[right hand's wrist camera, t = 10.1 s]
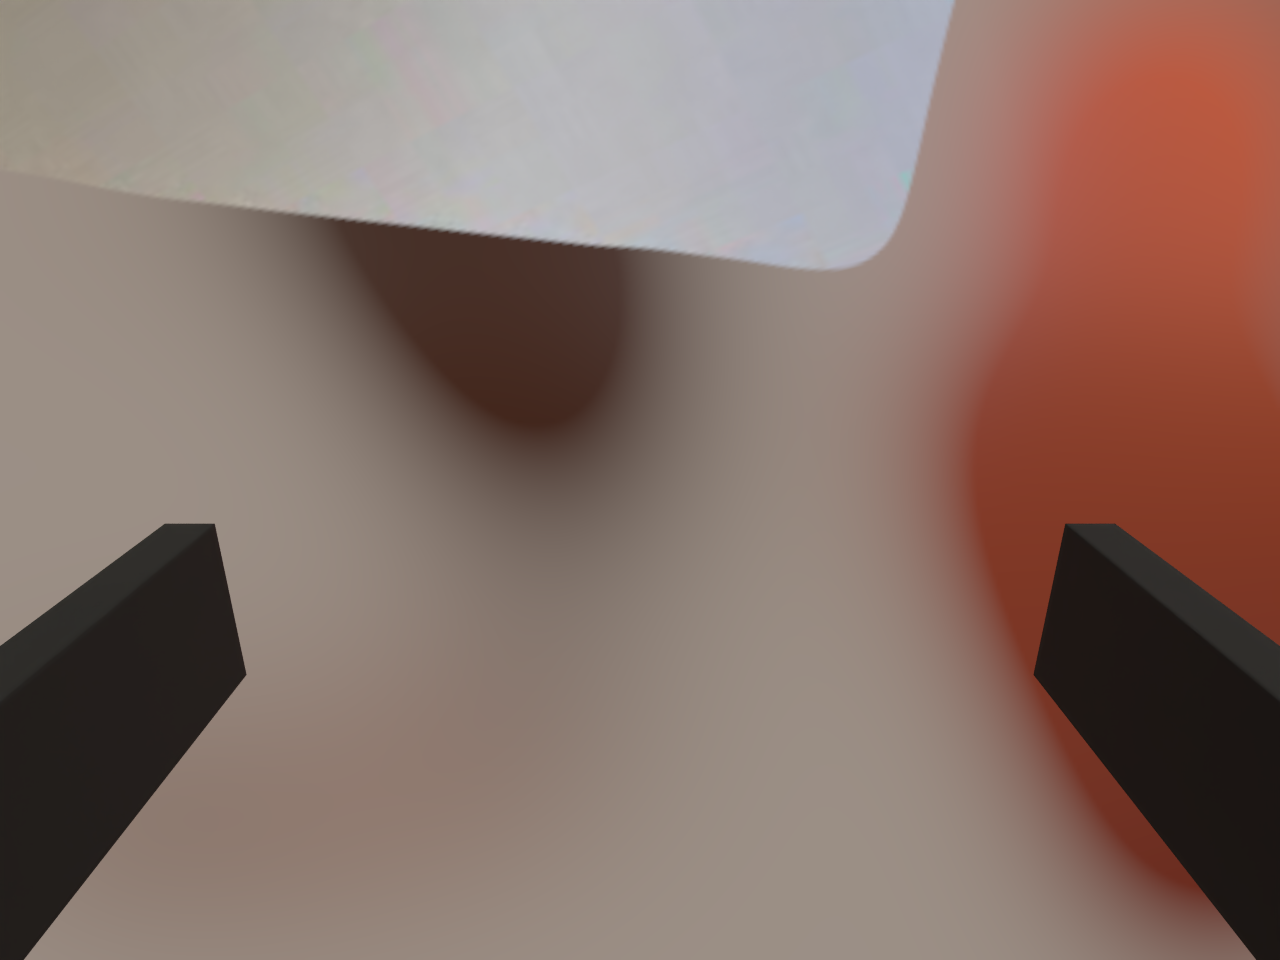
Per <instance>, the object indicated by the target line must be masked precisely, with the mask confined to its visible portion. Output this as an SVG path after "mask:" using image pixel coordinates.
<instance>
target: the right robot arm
mask: <svg viewBox="0 0 1280 960" xmlns="http://www.w3.org/2000/svg"><path fill="white" fill-rule="evenodd" d="M245 676H246V670H245V666H244V661H243V656H242V652H241V647H240V642H239V637H238V633H237V628H236V623H235V618H234V613H233V609H232V604H231V599H230V594H229V590H228V585H227V580H226V576H225V571H224V566H223V561H222V556H221V552H220V547H219V542H218V537H217V533H216V528H215V524H164V525H163V526H161V527H160V528H159V529H157V530H156V531H155V532H153V533H152V534H151V535H149V536H148V537H147V538H145V539H144V540H142V541H141V542H140V543H138V544H137V545H136V546H134V547H133V548H132V549H130V550H129V551H128V552H126V553H125V554H124V555H122V556H121V557H120V558H118V559H117V560H116V561H114V562H113V563H112V564H110V565H109V566H108V567H106V568H105V569H103V570H102V571H101V572H99V573H98V574H97V575H95V576H94V577H93V578H91V579H90V580H89V581H87V582H86V583H85V584H83V585H82V586H81V587H79V588H78V589H76V590H75V591H74V592H72V593H71V594H70V595H68V596H67V597H66V598H64V599H63V600H62V601H60V602H59V603H58V604H56V605H55V606H54V607H52V608H51V609H50V610H48V611H47V612H45V613H44V614H43V615H41V616H40V617H39V618H37V619H36V620H35V621H33V622H32V623H31V624H29V625H28V626H27V627H25V628H24V629H23V630H21V631H20V632H19V633H17V634H16V635H15V636H13V637H12V638H11V639H9V640H8V641H6V642H5V643H4V644H2V645H1V646H0V960H24V959H25V957H26V956H27V955H28V954H29V952H30V951H31V950H32V948H33V947H34V946H35V945H36V943H37V942H38V941H39V939H40V938H41V937H42V936H43V934H44V933H45V932H46V931H47V929H48V928H49V927H50V925H51V924H52V923H53V922H54V920H55V919H56V918H57V916H58V915H59V914H60V913H61V911H62V910H63V909H64V907H65V906H66V905H67V904H68V902H69V901H70V900H71V899H72V897H73V896H74V895H75V893H76V892H77V891H78V890H79V888H80V887H81V886H82V884H83V883H84V882H85V881H86V879H87V878H88V877H89V875H90V874H91V873H92V872H93V870H94V869H95V868H96V867H97V865H98V864H99V863H100V861H101V860H102V859H103V858H104V856H105V855H106V854H107V852H108V851H109V850H110V849H111V847H112V846H113V845H114V844H115V842H116V841H117V840H118V838H119V837H120V836H121V835H122V833H123V832H124V831H125V829H126V828H127V827H128V826H129V824H130V823H131V822H132V820H133V819H134V818H135V817H136V815H137V814H138V813H139V812H140V810H141V809H142V808H143V806H144V805H145V804H146V803H147V801H148V800H149V799H150V797H151V796H152V795H153V794H154V792H155V791H156V790H157V788H158V787H159V786H160V785H161V783H162V782H163V781H164V780H165V778H166V777H167V776H168V774H169V773H170V772H171V771H172V769H173V768H174V767H175V765H176V764H177V763H178V762H179V760H180V759H181V758H182V756H183V755H184V754H185V753H186V751H187V750H188V749H189V748H190V746H191V745H192V744H193V742H194V741H195V740H196V739H197V737H198V736H199V735H200V733H201V732H202V731H203V730H204V728H205V727H206V726H207V725H208V723H209V722H210V721H211V719H212V718H213V717H214V716H215V714H216V713H217V712H218V710H219V709H220V708H221V707H222V705H223V704H224V703H225V701H226V700H227V699H228V698H229V696H230V695H231V694H232V693H233V691H234V690H235V689H236V687H237V686H238V685H239V684H240V682H241V681H242V680H243V678H244V677H245ZM1034 676H1035V677H1036V678H1037V680H1038V681H1039V682H1040V683H1041V685H1042V686H1043V687H1044V689H1045V690H1046V691H1047V693H1048V694H1049V695H1050V696H1051V698H1052V699H1053V700H1054V701H1055V703H1056V704H1057V705H1058V707H1059V708H1060V709H1061V710H1062V712H1063V713H1064V714H1065V716H1066V717H1067V718H1068V719H1069V721H1070V722H1071V723H1072V725H1073V726H1074V727H1075V728H1076V730H1077V731H1078V732H1079V733H1080V735H1081V736H1082V737H1083V739H1084V740H1085V741H1086V742H1087V744H1088V745H1089V746H1090V748H1091V749H1092V750H1093V751H1094V753H1095V754H1096V755H1097V756H1098V758H1099V759H1100V760H1101V762H1102V763H1103V764H1104V765H1105V767H1106V768H1107V769H1108V771H1109V772H1110V773H1111V774H1112V776H1113V777H1114V778H1115V780H1116V781H1117V782H1118V783H1119V785H1120V786H1121V787H1122V788H1123V790H1124V791H1125V792H1126V794H1127V795H1128V796H1129V797H1130V799H1131V800H1132V801H1133V803H1134V804H1135V805H1136V806H1137V808H1138V809H1139V810H1140V812H1141V813H1142V814H1143V815H1144V817H1145V818H1146V819H1147V820H1148V822H1149V823H1150V824H1151V826H1152V827H1153V828H1154V829H1155V831H1156V832H1157V833H1158V835H1159V836H1160V837H1161V838H1162V840H1163V841H1164V842H1165V844H1166V845H1167V846H1168V847H1169V849H1170V850H1171V851H1172V852H1173V854H1174V855H1175V856H1176V857H1177V859H1178V860H1179V861H1180V863H1181V864H1182V865H1183V867H1184V868H1185V869H1186V870H1187V872H1188V873H1189V874H1190V875H1191V877H1192V878H1193V879H1194V881H1195V882H1196V883H1197V884H1198V886H1199V887H1200V888H1201V890H1202V891H1203V892H1204V893H1205V895H1206V896H1207V897H1208V899H1209V900H1210V901H1211V902H1212V904H1213V905H1214V906H1215V907H1216V909H1217V910H1218V911H1219V913H1220V914H1221V915H1222V916H1223V918H1224V919H1225V920H1226V922H1227V923H1228V924H1229V925H1230V927H1231V928H1232V929H1233V931H1234V932H1235V933H1236V934H1237V936H1238V937H1239V938H1240V939H1241V941H1242V942H1243V943H1244V945H1245V946H1246V947H1247V948H1248V950H1249V951H1250V952H1251V954H1252V955H1253V956H1254V957H1255V959H1256V960H1280V646H1279V645H1278V644H1276V643H1275V642H1274V641H1272V640H1271V639H1270V638H1268V637H1267V636H1265V635H1264V634H1263V633H1261V632H1260V631H1259V630H1257V629H1256V628H1255V627H1253V626H1252V625H1251V624H1249V623H1248V622H1247V621H1245V620H1244V619H1243V618H1241V617H1240V616H1239V615H1237V614H1236V613H1235V612H1233V611H1232V610H1230V609H1229V608H1228V607H1226V606H1225V605H1224V604H1222V603H1221V602H1220V601H1218V600H1217V599H1216V598H1214V597H1213V596H1212V595H1210V594H1209V593H1208V592H1206V591H1205V590H1204V589H1202V588H1201V587H1199V586H1198V585H1197V584H1195V583H1194V582H1193V581H1191V580H1190V579H1189V578H1187V577H1186V576H1185V575H1183V574H1182V573H1181V572H1179V571H1178V570H1177V569H1175V568H1174V567H1173V566H1171V565H1170V564H1168V563H1167V562H1166V561H1164V560H1163V559H1162V558H1160V557H1159V556H1158V555H1156V554H1155V553H1154V552H1152V551H1151V550H1150V549H1148V548H1147V547H1146V546H1144V545H1143V544H1142V543H1140V542H1139V541H1138V540H1136V539H1135V538H1133V537H1132V536H1131V535H1129V534H1128V533H1127V532H1125V531H1124V530H1123V529H1121V528H1120V527H1119V526H1117V525H1116V524H1065V528H1064V533H1063V537H1062V542H1061V547H1060V552H1059V556H1058V561H1057V566H1056V571H1055V575H1054V580H1053V585H1052V590H1051V595H1050V599H1049V604H1048V609H1047V613H1046V618H1045V623H1044V628H1043V632H1042V637H1041V642H1040V647H1039V651H1038V656H1037V661H1036V666H1035V670H1034Z"/></svg>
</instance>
